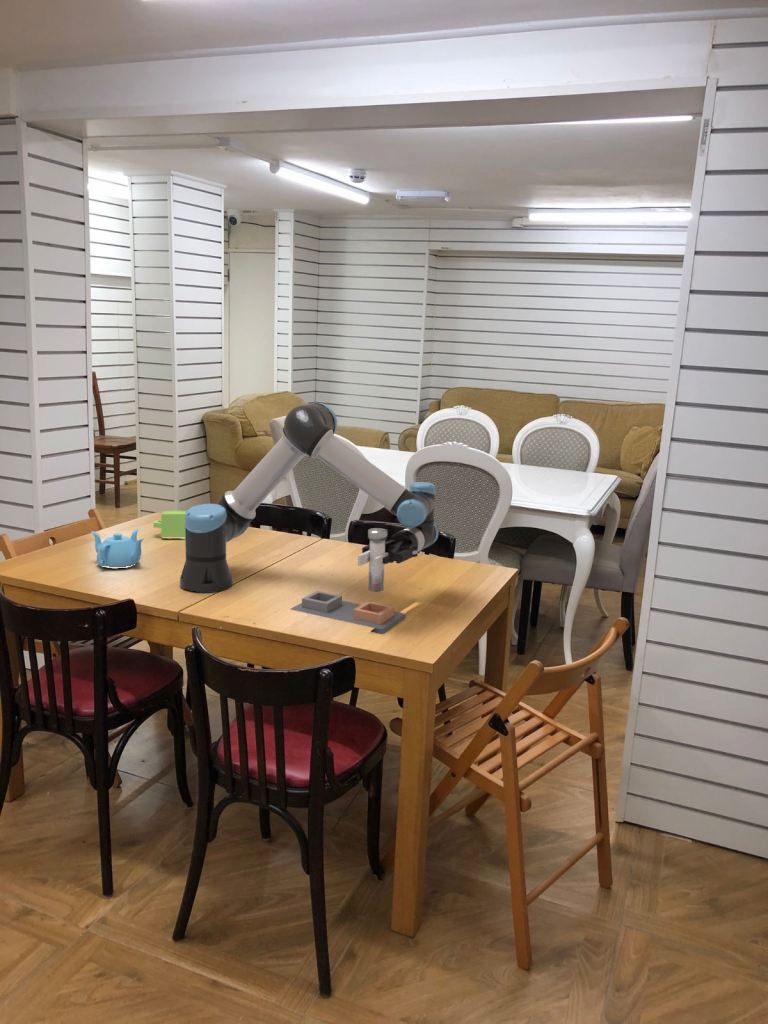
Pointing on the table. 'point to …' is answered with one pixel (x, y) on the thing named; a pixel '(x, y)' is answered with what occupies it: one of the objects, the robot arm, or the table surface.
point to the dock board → (350, 611)
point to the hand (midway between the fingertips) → (367, 562)
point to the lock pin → (376, 549)
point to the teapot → (118, 550)
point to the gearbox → (172, 523)
